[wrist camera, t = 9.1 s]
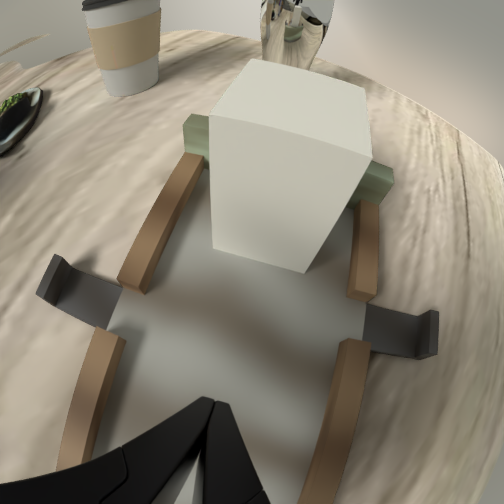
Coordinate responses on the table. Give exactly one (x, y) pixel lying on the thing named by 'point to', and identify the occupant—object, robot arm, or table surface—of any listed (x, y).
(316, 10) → the beer glass
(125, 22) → the coffee cup
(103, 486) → the robot arm
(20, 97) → the salad plate
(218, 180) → the block
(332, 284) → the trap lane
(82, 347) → the table surface
